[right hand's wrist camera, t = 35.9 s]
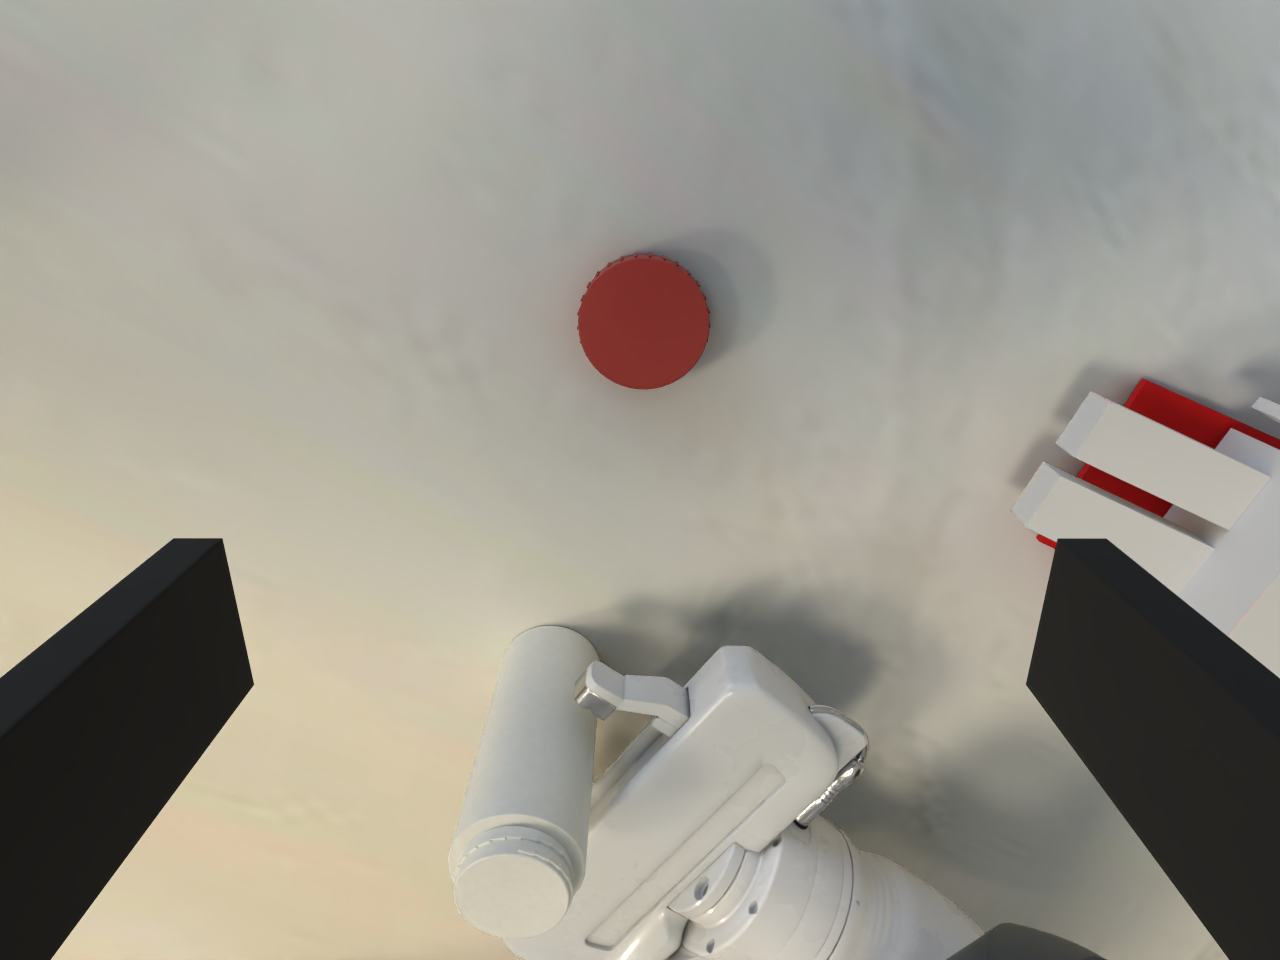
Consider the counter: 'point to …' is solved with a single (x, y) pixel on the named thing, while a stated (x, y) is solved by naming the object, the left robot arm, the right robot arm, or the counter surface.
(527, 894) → the jar
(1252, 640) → the toy
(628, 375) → the lid
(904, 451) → the counter surface
